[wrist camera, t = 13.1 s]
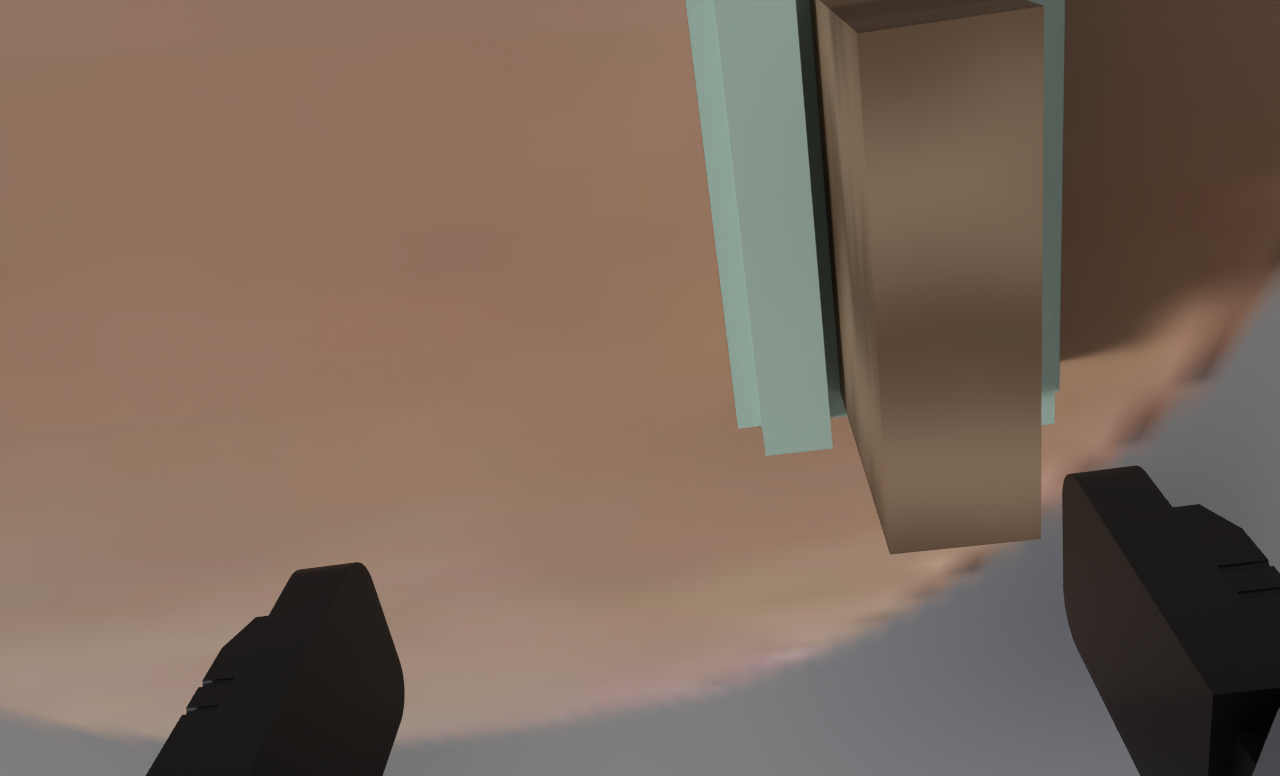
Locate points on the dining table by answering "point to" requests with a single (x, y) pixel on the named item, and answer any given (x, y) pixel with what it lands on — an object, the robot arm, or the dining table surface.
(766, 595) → the dining table surface
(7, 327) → the dining table surface
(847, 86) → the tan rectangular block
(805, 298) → the picture ledge
